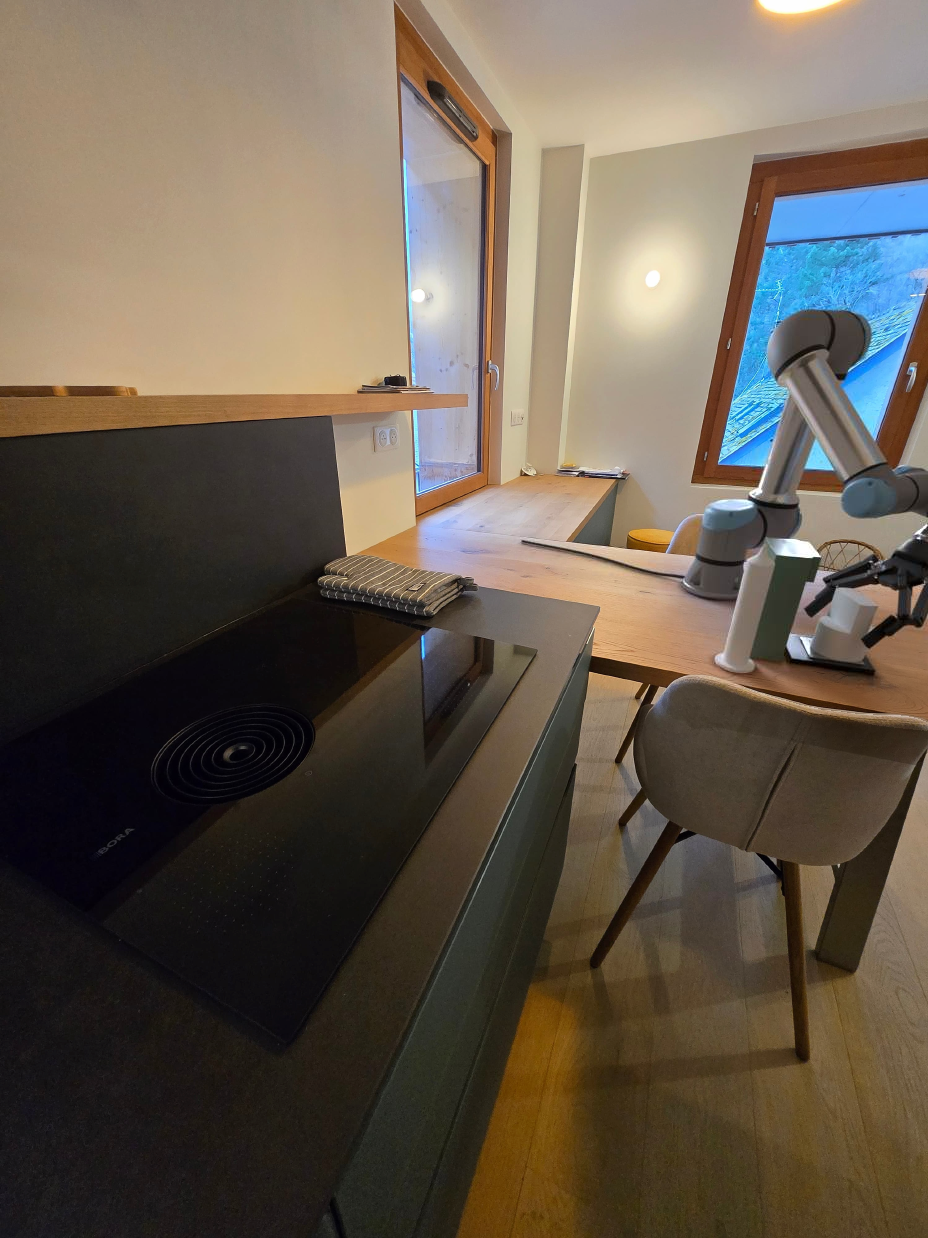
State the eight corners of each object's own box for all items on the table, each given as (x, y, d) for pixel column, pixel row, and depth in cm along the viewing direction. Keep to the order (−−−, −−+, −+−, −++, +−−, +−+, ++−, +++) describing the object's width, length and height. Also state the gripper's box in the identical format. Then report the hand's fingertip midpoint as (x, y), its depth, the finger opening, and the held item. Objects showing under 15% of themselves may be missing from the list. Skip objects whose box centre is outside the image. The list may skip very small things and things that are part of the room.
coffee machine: (747, 657, 101) (776, 554, 91) (740, 631, 111) (765, 537, 101) (873, 675, 94) (918, 567, 84) (853, 646, 104) (891, 547, 95)
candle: (707, 656, 101) (735, 538, 91) (740, 654, 102) (771, 537, 91) (727, 674, 95) (758, 550, 84) (761, 672, 96) (798, 549, 85)
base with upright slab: (802, 639, 105) (819, 586, 99) (848, 641, 104) (868, 588, 98) (824, 660, 97) (843, 604, 91) (874, 663, 95) (897, 607, 90)
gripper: (1009, 586, 84) (901, 670, 88) (876, 543, 106) (794, 612, 110) (998, 559, 80) (886, 647, 85) (863, 520, 103) (779, 592, 107)
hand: (834, 627), depth 97 cm, fingers open, 13 cm apart
